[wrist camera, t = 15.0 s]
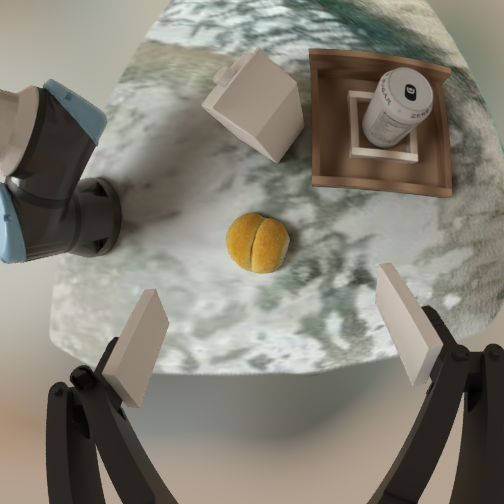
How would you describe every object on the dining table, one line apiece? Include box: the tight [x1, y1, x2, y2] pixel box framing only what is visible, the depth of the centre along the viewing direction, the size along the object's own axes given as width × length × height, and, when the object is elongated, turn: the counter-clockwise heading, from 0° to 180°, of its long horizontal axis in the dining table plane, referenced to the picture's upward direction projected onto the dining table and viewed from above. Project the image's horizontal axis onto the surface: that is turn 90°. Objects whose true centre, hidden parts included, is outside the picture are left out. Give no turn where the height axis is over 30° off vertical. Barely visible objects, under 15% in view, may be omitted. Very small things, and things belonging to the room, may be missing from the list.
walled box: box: [309, 49, 452, 198], centre depth 31 cm, size 20×18×8 cm
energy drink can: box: [362, 67, 433, 148], centre depth 27 cm, size 6×6×15 cm
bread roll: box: [226, 213, 290, 273], centre depth 40 cm, size 8×9×4 cm
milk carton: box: [201, 48, 305, 164], centre depth 30 cm, size 7×7×19 cm
